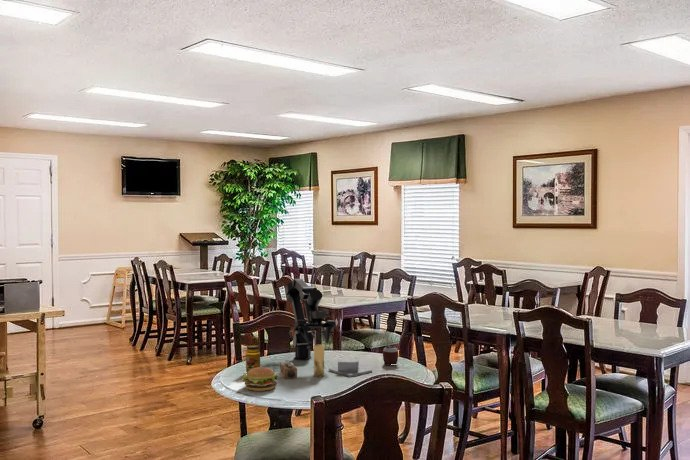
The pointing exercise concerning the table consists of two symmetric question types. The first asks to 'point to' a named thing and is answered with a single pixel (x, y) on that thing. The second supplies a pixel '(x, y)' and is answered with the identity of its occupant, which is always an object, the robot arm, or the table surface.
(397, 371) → the table surface
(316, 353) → the tan cylinder
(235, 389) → the table surface
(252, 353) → the condiment
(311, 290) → the robot arm
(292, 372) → the beam
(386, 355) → the mate gourd
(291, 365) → the drift
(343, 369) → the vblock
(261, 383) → the food
